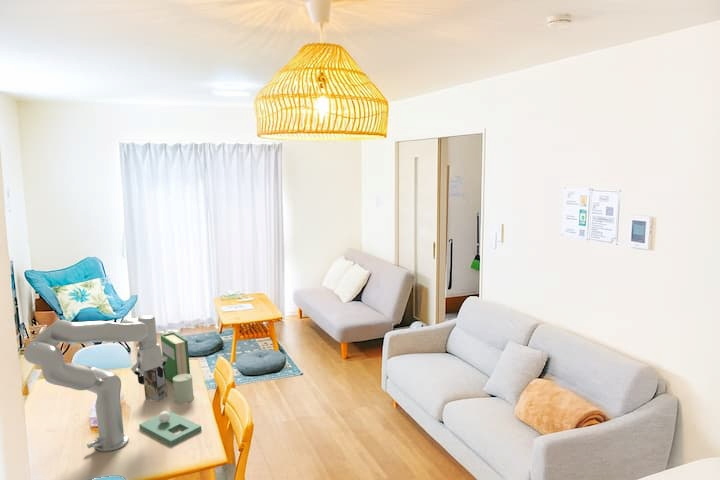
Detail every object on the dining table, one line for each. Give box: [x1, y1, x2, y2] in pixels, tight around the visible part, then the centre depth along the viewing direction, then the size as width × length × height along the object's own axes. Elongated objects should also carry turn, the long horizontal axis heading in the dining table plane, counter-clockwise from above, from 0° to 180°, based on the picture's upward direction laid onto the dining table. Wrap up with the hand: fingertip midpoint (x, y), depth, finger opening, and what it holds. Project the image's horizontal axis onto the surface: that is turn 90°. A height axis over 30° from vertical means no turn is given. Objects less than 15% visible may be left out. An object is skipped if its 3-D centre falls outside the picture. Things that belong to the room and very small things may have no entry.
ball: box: [157, 411, 170, 423], centre depth 236 cm, size 5×5×5 cm
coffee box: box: [142, 366, 168, 403], centre depth 264 cm, size 9×6×16 cm
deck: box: [138, 410, 202, 446], centre depth 234 cm, size 15×24×2 cm, turn 53°
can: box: [172, 373, 195, 405], centre depth 262 cm, size 9×9×12 cm
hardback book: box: [160, 331, 191, 385], centre depth 283 cm, size 18×7×24 cm, turn 41°
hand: (151, 380), depth 238 cm, fingers open, 8 cm apart
